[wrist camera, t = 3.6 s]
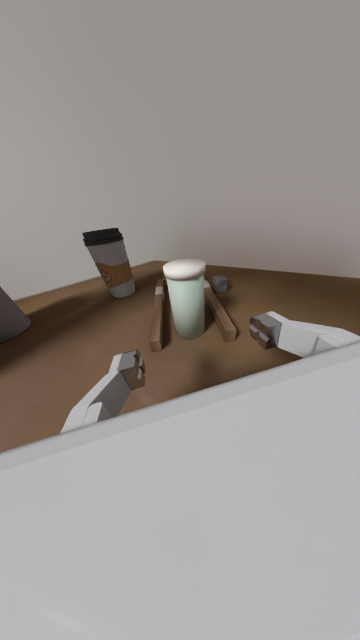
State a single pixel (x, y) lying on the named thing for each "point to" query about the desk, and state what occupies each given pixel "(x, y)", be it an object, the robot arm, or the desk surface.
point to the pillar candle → (11, 318)
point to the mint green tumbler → (186, 296)
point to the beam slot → (212, 301)
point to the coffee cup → (111, 260)
